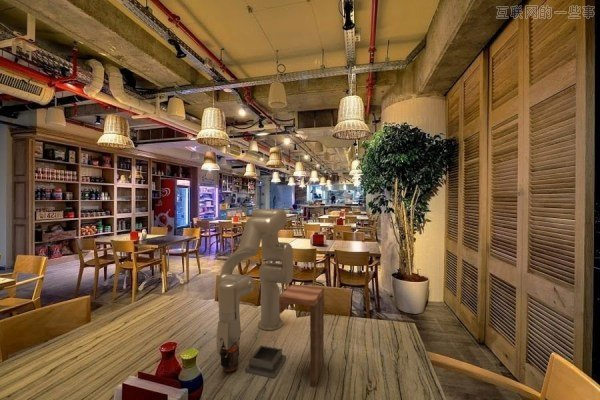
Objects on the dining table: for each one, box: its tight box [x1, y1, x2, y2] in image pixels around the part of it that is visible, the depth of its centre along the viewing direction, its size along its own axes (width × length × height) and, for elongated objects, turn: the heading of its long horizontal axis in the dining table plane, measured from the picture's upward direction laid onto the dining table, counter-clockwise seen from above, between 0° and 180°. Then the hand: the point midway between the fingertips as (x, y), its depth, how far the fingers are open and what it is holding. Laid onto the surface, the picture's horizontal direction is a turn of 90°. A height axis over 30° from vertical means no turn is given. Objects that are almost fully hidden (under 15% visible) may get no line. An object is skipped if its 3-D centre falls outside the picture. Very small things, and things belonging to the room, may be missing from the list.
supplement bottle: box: [221, 342, 239, 372], centre depth 103 cm, size 6×6×11 cm
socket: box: [244, 345, 287, 379], centre depth 105 cm, size 12×12×4 cm
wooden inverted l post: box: [279, 283, 325, 388], centre depth 102 cm, size 14×13×30 cm
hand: (230, 360), depth 103 cm, fingers closed on supplement bottle, 6 cm apart
